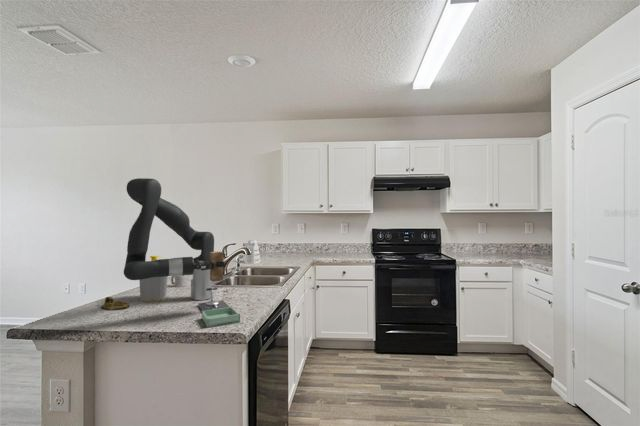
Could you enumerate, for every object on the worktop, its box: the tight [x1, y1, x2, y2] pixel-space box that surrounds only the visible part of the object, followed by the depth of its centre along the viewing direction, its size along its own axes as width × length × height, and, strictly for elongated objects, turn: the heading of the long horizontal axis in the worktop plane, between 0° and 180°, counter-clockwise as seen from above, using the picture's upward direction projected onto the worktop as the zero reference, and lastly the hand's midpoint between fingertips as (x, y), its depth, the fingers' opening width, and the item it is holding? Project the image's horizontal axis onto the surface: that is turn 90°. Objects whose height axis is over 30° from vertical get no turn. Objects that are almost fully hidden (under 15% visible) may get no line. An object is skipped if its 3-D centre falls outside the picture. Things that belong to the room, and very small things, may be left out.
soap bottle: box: [138, 255, 169, 302], centre depth 160 cm, size 13×13×21 cm
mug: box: [170, 275, 188, 288], centre depth 189 cm, size 10×7×7 cm
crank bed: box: [197, 287, 230, 312], centre depth 141 cm, size 11×16×8 cm
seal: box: [101, 296, 130, 311], centre depth 144 cm, size 9×5×15 cm
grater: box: [244, 240, 262, 265], centre depth 286 cm, size 10×10×20 cm
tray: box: [201, 306, 241, 329], centre depth 124 cm, size 12×12×3 cm
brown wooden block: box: [210, 251, 224, 282], centre depth 138 cm, size 4×4×12 cm
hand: (222, 263), depth 139 cm, fingers closed on brown wooden block, 4 cm apart
